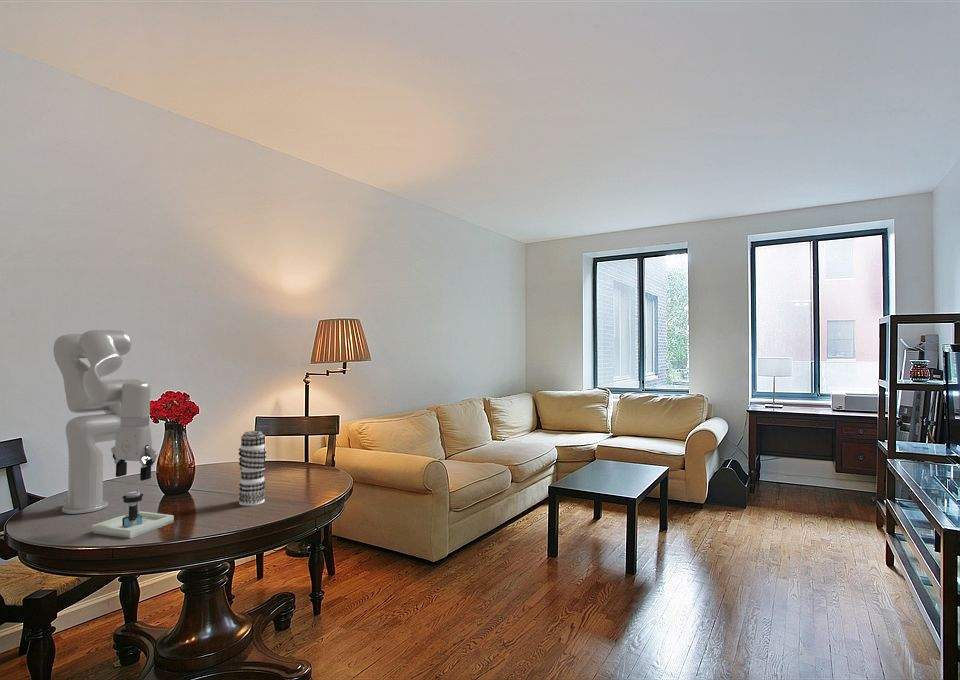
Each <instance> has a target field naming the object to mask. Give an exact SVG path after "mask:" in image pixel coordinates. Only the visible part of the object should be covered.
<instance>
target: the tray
mask: <svg viewBox="0 0 960 680" xmlns="http://www.w3.org/2000/svg"><path fill="white" fill-rule="evenodd" d="M125 515H126V514H123V515H121V516H117V517H113V518H110V519H108V520H104V521H101V522H98V523H95V524H92V525H91V534H98V535H105V536H111V537H118V538H125V539H133V538H135V537H138V536H140V535H143V534H146V533H149V532H151V531H155V530H156V529H159V528H162V527H165V526H167V525H171V524H173V523H174V521H175V519H174V518H175V516H174V515H173V514H167V513H166V514H164V513H158V512H157V513H156V512H149V511H141V510H140V514H139V515H141V516H142V518H144V517H147V518H144V519H142V521H144V520H147V521H144V522H142V524H140V525H136V526H131V527H127V528H125V527H123V526H122V519H123V518H124V517H125Z"/></svg>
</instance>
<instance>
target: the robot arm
mask: <svg viewBox="0 0 960 680" xmlns="http://www.w3.org/2000/svg"><path fill="white" fill-rule="evenodd" d="M131 349H132V339H131V337H130V336H129V334H128V333H127V332H125V331H123V330H119V329H118V330H115V329H114V330H111V329H92V330H87V331H86V332H83V333H70V334H69V333H68V334H64V335H61V336H58V337H57V338H56V339H55V341H54V343H53V357H54V360H55V362H56V366H57V367H58V369H59V371H60V373H61V375H62V379H63V386H64V395H65V397H66V398H65V399H66V404H67V408H68V410H69V411H70V412H71V413H74V414H75V413H76V414H86V413H87V414H88V413H98V412H99V413H100V412H104V413H102V414H89V415H80V416H76V417H73V418H72V419H69V420H68V422H66V425H65V436H66V443H67V448H68V489H67V493H68V494H67V495H66V496H64V497H62V502H66V505H65V506H63V507H62V510H61V511H62V513H64V514H69V515H75V514H77V515H78V514H86V513H92V512H96V511H100V510H104V509H105V508H106V507H108V505H109V502H108V501H107V500H104V496H103V492H104V491H103V490H104V488H103V487H104V455H103V453H102V450H100V449H99V448H98V447H97V445H96V444H97V443H103V442H110V441H115V443H114V446H113V447H111V449H110V451H111V454H112V459H113V460H114V461H113V462H114V464H115V477H116V478H120V477H123V476H127V473H128V472H127V471H128V470H127V469H128V468H127V467H128V464H127V463H128V462H127V461H129V462H139V463H140V465H141V467H140V477H139V480H140V481H142V482H143V481H145V480H147V481H148V480H151V478H152V467H153V466H154V463H155V462H156V459H157V457H158V455H159V453H158V452H157V451H156V450H154V449H153V448H152V447H153V445H152V444H153V443H152V442H153V441H152V430H151V426H150V416H151V414H150V412H151V384H150V383H148V382H146V381H141V380H140V379H136V378H130V379H129V378H128V379H127V378H126V379H101V378H103V377H106V376H108V375H111V374H113V373H114V372H116V371H118V370H119V369H120V368H121V367H122V364H123V357H122V356H124V355H127V354H128V353H129V352H130V351H131ZM80 359H87V361H88V363H89V364H90V366H88V364H86V363H84V362H83V361H82V360H80Z"/></svg>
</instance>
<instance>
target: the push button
mask: <svg viewBox="0 0 960 680" xmlns="http://www.w3.org/2000/svg"><path fill="white" fill-rule="evenodd" d="M143 497H144V494H143V493H141V492H140V490H131V491H127V492H125V495H123V496H122V500H123V503H125V514H124V515H125V517H124V518H123V519H122V526H123V527H125V528H127V527H131V526H136V525H140V524H142V522H144V521H147V520H144V521H142V519H144V518H147V517H144V518H142V516H141V515H139V514H140V511H141V509H140V506H141V505H140V504H141V503H140V502H141V501H142V500H143Z"/></svg>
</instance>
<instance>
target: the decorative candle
mask: <svg viewBox="0 0 960 680" xmlns="http://www.w3.org/2000/svg"><path fill="white" fill-rule="evenodd" d="M265 437H266V435H265V434H263V432H262V431H260V430H250V431H245V432H244V433H243V434H242V435H241V436H240V439H241V440H240V442H241V444H240V447H239V448H238V451H239V452H238V456H239V458H238V460H239V462H238V465H239V466H240V467H239V471H240V479H239V481H240V483H239V489H238V490H239V491H240V492H239V493H238V496H239V497H238V500H239V502H238V503H239V504H238V505H241V506H246V507H247V506H249V507H250V506H257V505H261V504H263V503H264V502H265V501H266V499H265V498H266V495H265V493H266V491H265V488H266V486H265V484H266V481H265V475H264V473H265V472H264V470H266V465H265V464H266V463H267V461H265V459H266V458H267V456H266V454H267V451H265V447H266V446H265V445H266V444H265Z"/></svg>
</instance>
